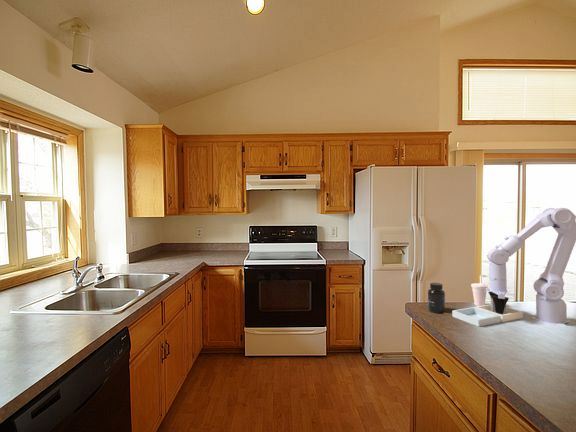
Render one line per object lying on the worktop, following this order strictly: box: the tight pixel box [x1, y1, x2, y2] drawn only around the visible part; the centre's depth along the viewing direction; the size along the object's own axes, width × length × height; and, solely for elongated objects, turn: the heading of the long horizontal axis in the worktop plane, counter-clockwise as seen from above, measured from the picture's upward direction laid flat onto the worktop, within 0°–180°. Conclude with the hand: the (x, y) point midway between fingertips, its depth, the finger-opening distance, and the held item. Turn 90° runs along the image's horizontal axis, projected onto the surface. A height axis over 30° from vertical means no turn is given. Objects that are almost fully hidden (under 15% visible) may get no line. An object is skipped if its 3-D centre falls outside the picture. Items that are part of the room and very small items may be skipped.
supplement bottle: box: [427, 282, 446, 314], centre depth 127 cm, size 7×7×12 cm
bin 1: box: [451, 306, 502, 327], centre depth 115 cm, size 11×11×3 cm
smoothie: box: [470, 274, 489, 306], centre depth 133 cm, size 6×6×14 cm
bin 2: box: [474, 303, 524, 323], centre depth 119 cm, size 11×11×3 cm
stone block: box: [490, 297, 507, 315], centre depth 119 cm, size 4×4×6 cm
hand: (498, 311), depth 119 cm, fingers closed on stone block, 4 cm apart
